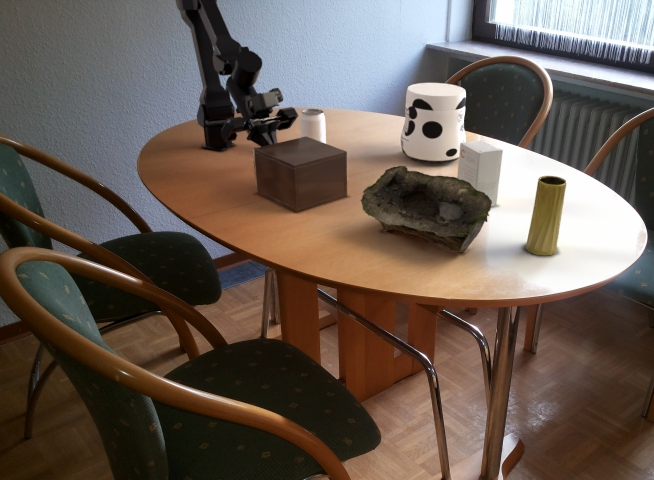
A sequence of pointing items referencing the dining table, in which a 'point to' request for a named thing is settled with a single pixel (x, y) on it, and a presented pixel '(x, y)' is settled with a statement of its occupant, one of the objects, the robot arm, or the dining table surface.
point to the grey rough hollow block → (428, 206)
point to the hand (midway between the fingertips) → (277, 155)
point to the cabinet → (301, 173)
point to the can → (313, 124)
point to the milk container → (433, 122)
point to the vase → (546, 215)
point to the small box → (481, 167)
